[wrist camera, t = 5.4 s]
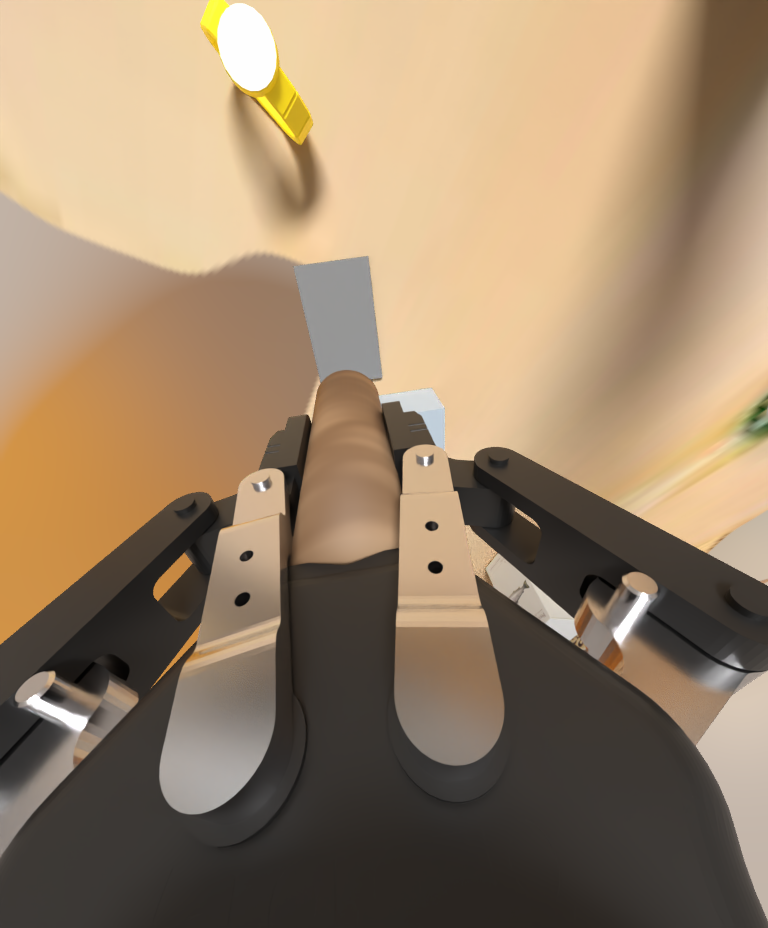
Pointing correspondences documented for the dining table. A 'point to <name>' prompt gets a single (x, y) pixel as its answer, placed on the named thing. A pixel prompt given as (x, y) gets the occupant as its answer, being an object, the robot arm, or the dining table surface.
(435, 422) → the hole block
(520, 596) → the supplement box
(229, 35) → the watch
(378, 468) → the dowel
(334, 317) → the mat
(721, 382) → the dining table surface
